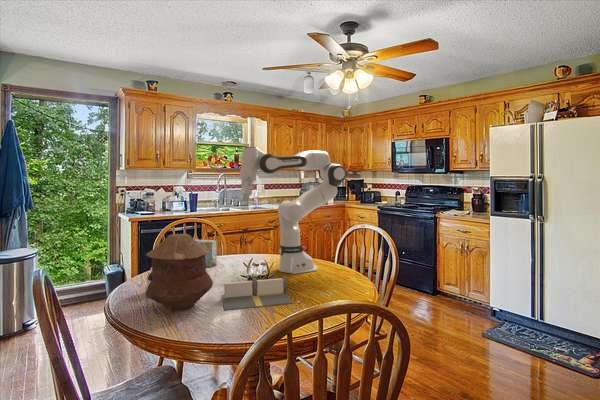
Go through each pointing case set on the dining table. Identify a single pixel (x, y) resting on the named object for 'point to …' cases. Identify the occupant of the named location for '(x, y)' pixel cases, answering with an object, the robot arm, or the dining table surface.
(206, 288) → the pottery vessel
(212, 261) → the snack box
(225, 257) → the dining table surface
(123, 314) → the dining table surface
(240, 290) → the hinged panel
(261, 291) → the block
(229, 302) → the card
